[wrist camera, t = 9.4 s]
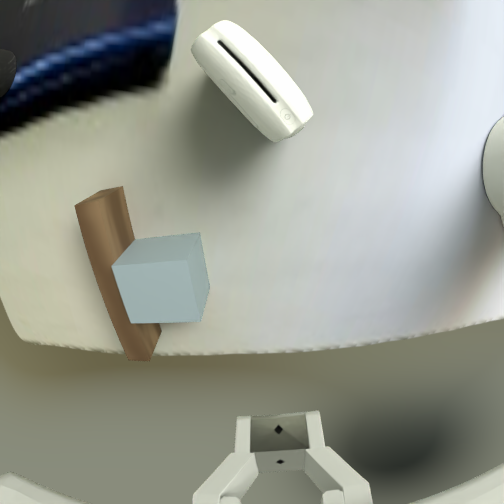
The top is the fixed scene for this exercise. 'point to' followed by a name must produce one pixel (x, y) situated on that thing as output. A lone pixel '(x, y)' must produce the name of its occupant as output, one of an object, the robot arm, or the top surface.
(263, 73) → the photo printer
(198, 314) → the slate block
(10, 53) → the travel mug
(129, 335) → the stop board
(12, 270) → the top surface
